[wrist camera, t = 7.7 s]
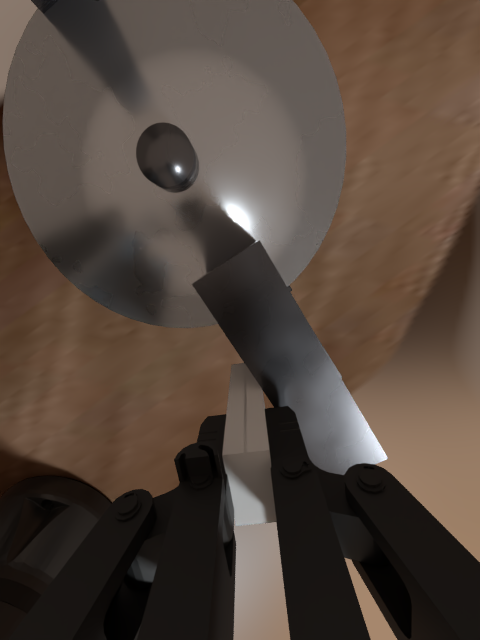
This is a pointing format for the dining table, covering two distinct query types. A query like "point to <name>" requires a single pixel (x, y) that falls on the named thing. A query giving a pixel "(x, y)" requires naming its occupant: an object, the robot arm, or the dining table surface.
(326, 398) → the lid
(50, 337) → the dining table surface
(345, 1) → the dining table surface
